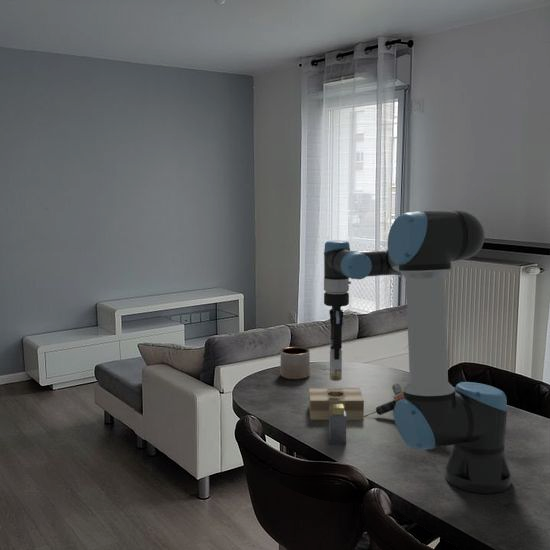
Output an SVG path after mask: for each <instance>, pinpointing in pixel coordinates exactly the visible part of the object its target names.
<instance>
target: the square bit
mask: <svg viewBox="0 0 550 550" xmlns="http://www.w3.org/2000/svg"><path fill="white" fill-rule="evenodd" d="M328 438H329V439H328V440H329V444H331V445H346V444H347V420H346V412H345V410H344V406H343V404H332V410H329V420H328Z"/></svg>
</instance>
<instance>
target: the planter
mask: <svg viewBox="0 0 550 550" xmlns="http://www.w3.org/2000/svg"><path fill="white" fill-rule="evenodd" d="M310 352H311V351H310V349H308V348H306V347H303V346H302V347H301V346H288V347H284V348H282V349H280V366H279V367H280V371H279V372H280V373H279V374H280V376H281V377H282V378H284V379H287V380H295V381H296V380H297V381H299V380H303V379H306V378H308V377H310V375H311V362H310V361H311V358H310V357H311V356H310V354H311V353H310Z"/></svg>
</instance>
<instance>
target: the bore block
mask: <svg viewBox="0 0 550 550" xmlns="http://www.w3.org/2000/svg"><path fill="white" fill-rule="evenodd" d="M308 394H309V395H308V406H309V407H308V408H309V409H308V410H309V418H310V420H311V421H315V420H316V421H318V420H319V421H321V420H322V421H323V420H325V421H326V420H327V421H329V410H332V404H343V406H344V410H345V412H346V421H364V418H365V417H364V416H365V414H364V412H365V411H364V410H365V408H364V407H365V399H364V396H363V394H362V391H361V388H360V387H309V388H308Z"/></svg>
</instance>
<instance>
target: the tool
mask: <svg viewBox="0 0 550 550" xmlns="http://www.w3.org/2000/svg"><path fill="white" fill-rule="evenodd" d="M391 388H392V390H393V393H394V395H393V396H392V397H393V400H392V401H388V402H385V403H383V404H381V405H379V406H377V407H376V408H375V411H374V412H371V413H369V414H366V415H364V418H365V417H367V416H370V415H373V414H375V413H377V415H379V416H381V415H384V414H387V413H389V412H391V411H394V407H395V406H396V405H395V404H396V402H397V401H399V400H400V399H404V393H403V390H402V387H401V384H399V383H394V384H393V385H392V387H391Z"/></svg>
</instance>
